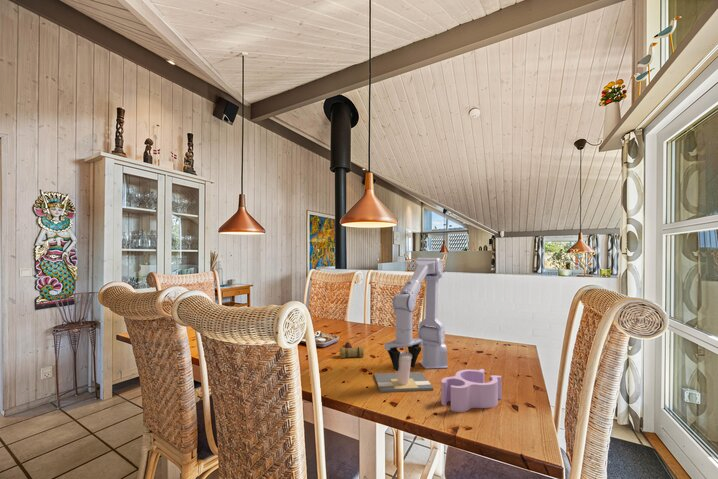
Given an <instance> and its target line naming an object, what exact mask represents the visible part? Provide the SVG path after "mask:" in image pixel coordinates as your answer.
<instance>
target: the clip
mask: <svg viewBox="0 0 718 479" xmlns="http://www.w3.org/2000/svg"><path fill="white" fill-rule="evenodd" d="M502 379H503V378H502V375H496V374H495V375H493V374H492V375H490V381H488V382H485V369H484V368H480V369H479V370H478V369H461V370H458V371H457V372H456V373H455V375H454V376H446V377H443V378H442V379H441V382H440V386H441V394H440V395H441V396H440V397H441V399H440V400H441V403H440V404H441V405H442V406H447V403H448V402H450V411H451V412H457V413H464V412H467V411H469V410H470V409H473V408H476V409H477V408H478V409H490V408H495V407H496V406H497V405H498V404H499V400H502V399H503V396H502V395H503V394H502V393H503V390H502V388H503V385H502V384H503V382H502V381H503V380H502Z"/></svg>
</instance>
